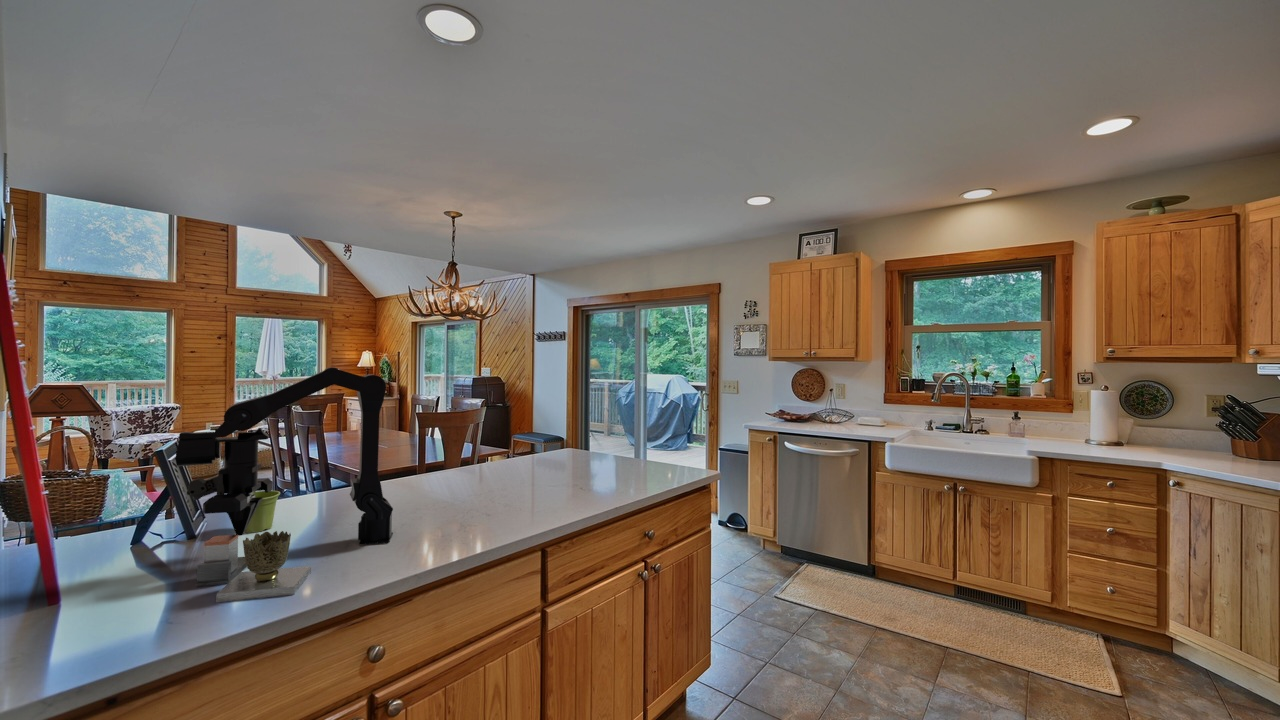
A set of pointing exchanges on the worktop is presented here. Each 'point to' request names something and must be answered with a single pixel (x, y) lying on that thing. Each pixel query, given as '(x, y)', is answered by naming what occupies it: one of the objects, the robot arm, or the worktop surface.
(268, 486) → the robot arm
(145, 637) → the worktop surface
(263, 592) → the flat plate
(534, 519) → the worktop surface
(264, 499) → the plant pot
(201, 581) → the press rail
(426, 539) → the worktop surface
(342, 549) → the worktop surface
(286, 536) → the cup
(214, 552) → the small box
